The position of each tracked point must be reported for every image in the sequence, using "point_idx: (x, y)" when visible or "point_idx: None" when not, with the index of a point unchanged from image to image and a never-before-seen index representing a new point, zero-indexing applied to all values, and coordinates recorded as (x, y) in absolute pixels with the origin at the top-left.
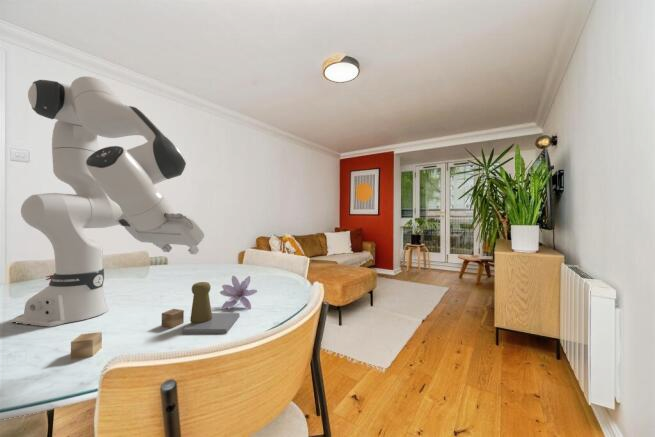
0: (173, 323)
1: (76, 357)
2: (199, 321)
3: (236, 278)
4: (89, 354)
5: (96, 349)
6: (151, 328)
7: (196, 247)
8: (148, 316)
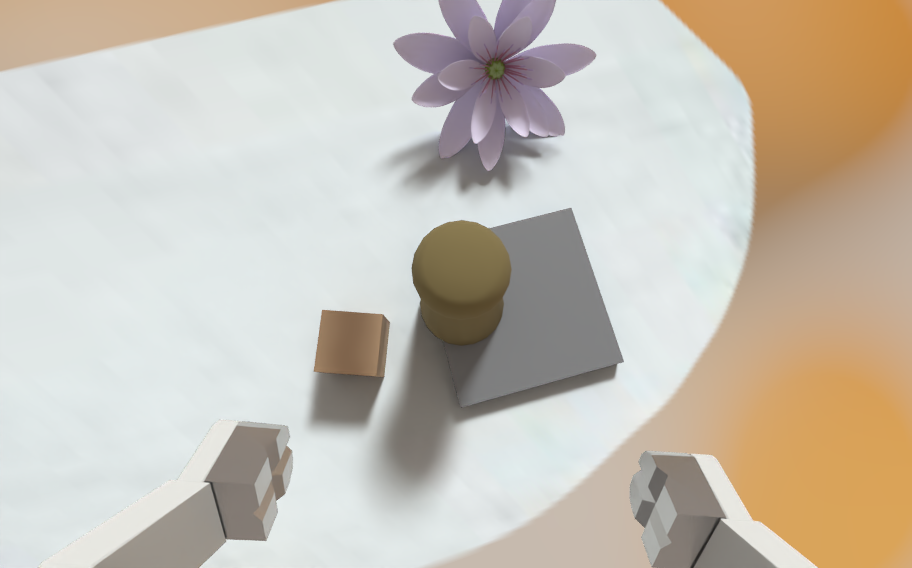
0: (382, 370)
1: None
2: (482, 338)
3: None
4: None
5: None
6: (304, 398)
7: (737, 509)
8: (192, 301)
